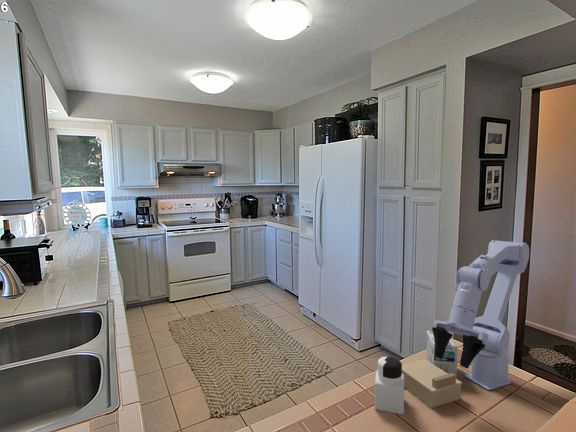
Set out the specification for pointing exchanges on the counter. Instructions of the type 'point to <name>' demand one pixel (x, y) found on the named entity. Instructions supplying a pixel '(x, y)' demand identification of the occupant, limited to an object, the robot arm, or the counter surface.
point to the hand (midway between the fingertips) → (450, 362)
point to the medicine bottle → (389, 386)
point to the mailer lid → (430, 376)
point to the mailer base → (429, 397)
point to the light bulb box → (449, 358)
